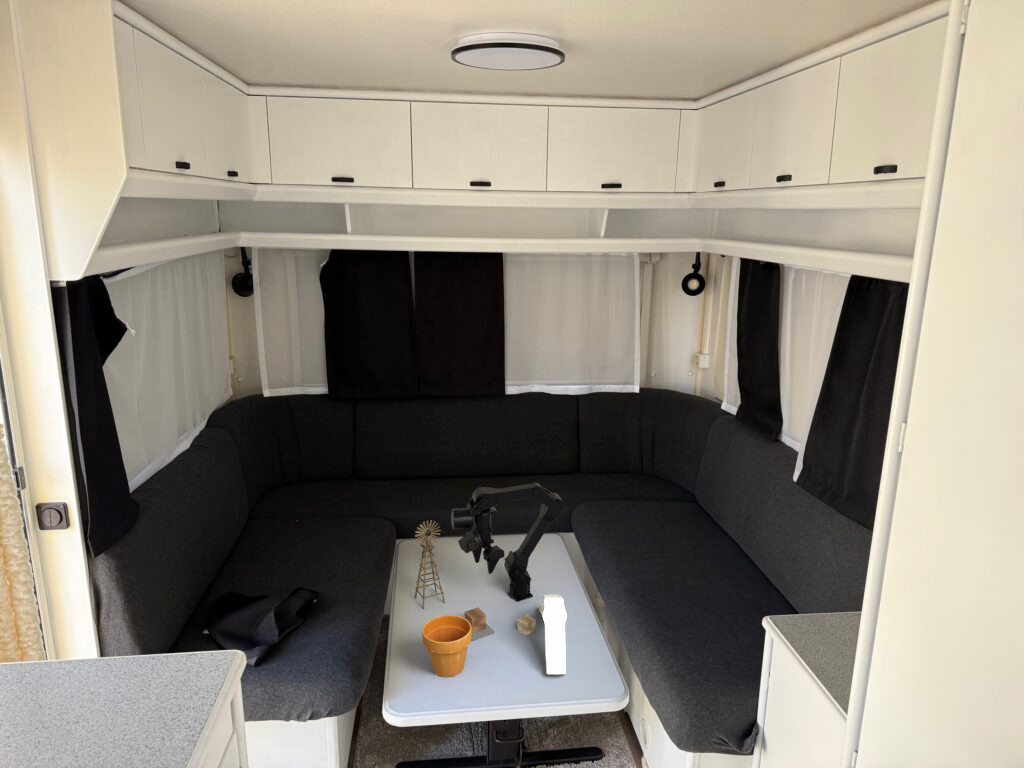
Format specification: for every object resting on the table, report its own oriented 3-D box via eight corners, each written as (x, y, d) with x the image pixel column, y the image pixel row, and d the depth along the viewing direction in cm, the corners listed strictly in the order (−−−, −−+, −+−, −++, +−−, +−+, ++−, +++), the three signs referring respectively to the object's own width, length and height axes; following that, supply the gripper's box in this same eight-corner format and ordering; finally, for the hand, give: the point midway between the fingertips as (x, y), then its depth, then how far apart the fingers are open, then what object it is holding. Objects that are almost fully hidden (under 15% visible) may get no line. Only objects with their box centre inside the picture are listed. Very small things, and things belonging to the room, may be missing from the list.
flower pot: (415, 677, 198) (413, 636, 195) (437, 649, 211) (435, 610, 208) (460, 688, 193) (459, 646, 190) (480, 658, 206) (479, 619, 203)
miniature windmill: (421, 609, 233) (417, 526, 226) (413, 597, 240) (409, 517, 233) (446, 602, 237) (443, 521, 230) (437, 591, 244) (434, 512, 237)
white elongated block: (560, 657, 228) (558, 591, 232) (568, 674, 195) (566, 597, 200) (539, 657, 228) (538, 591, 232) (544, 674, 195) (542, 598, 200)
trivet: (479, 618, 227) (479, 616, 227) (494, 633, 219) (494, 631, 219) (457, 625, 223) (457, 623, 223) (471, 641, 215) (471, 638, 215)
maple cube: (526, 625, 223) (526, 614, 222) (535, 630, 220) (535, 619, 219) (517, 630, 220) (517, 619, 219) (526, 635, 218) (526, 624, 217)
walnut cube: (478, 621, 224) (478, 607, 223) (486, 628, 220) (485, 614, 219) (464, 625, 222) (464, 611, 221) (472, 633, 218) (471, 619, 216)
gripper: (448, 521, 236) (450, 563, 239) (474, 541, 220) (475, 586, 224) (477, 513, 241) (478, 555, 245) (504, 533, 226) (505, 577, 229)
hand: (483, 568), depth 236 cm, fingers open, 9 cm apart
